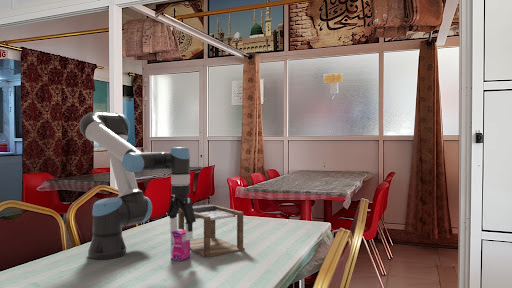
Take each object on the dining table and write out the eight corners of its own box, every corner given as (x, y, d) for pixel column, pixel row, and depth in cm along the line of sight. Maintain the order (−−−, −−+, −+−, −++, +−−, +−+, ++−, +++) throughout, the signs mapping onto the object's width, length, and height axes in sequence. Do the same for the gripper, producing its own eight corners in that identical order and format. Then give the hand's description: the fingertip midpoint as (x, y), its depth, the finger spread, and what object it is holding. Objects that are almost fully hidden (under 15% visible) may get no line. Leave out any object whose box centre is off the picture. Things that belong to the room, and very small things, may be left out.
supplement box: (170, 259, 161) (170, 231, 161) (179, 255, 166) (179, 228, 166) (181, 261, 158) (181, 233, 158) (190, 257, 163) (190, 230, 163)
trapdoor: (184, 217, 184) (184, 207, 184) (212, 214, 193) (212, 204, 193) (207, 225, 167) (207, 213, 167) (236, 221, 176) (236, 210, 176)
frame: (177, 243, 185) (177, 208, 185) (212, 237, 197) (212, 204, 197) (207, 257, 163) (207, 217, 163) (244, 250, 175) (244, 212, 175)
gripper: (204, 186, 154) (204, 240, 154) (175, 182, 174) (175, 230, 174) (186, 187, 150) (187, 243, 149) (159, 183, 169) (159, 232, 169)
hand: (181, 236), depth 162 cm, fingers open, 13 cm apart
